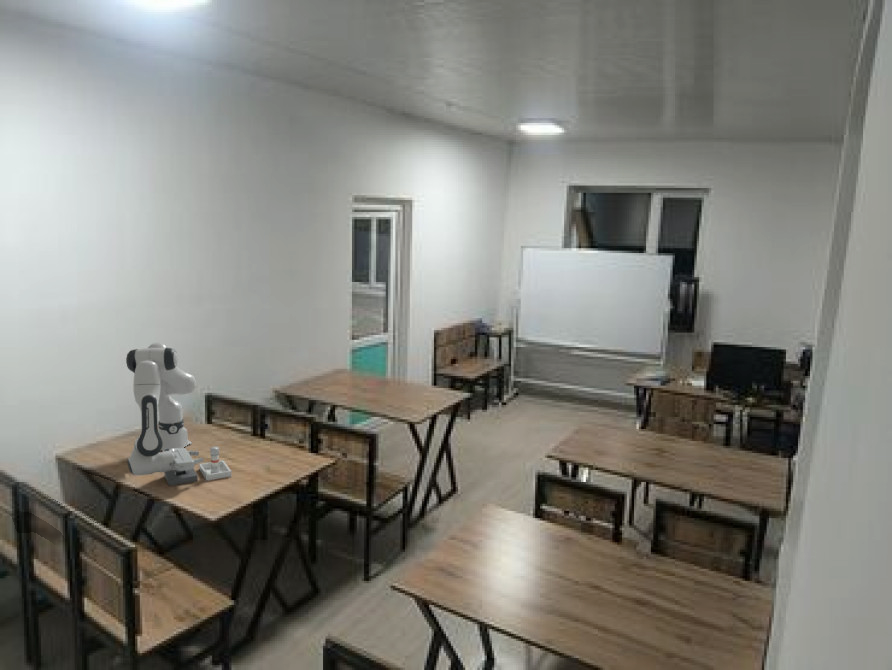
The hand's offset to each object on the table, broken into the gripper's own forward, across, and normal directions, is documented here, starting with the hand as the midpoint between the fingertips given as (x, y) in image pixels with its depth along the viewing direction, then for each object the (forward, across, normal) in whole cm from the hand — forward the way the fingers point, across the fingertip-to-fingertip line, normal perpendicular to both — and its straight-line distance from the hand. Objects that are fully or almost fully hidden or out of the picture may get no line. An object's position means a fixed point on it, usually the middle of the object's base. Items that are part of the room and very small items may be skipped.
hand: (200, 456), depth 298 cm
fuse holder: (-9, 0, +10) cm, 13 cm away
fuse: (+6, 0, +9) cm, 11 cm away
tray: (+6, 0, +10) cm, 12 cm away
